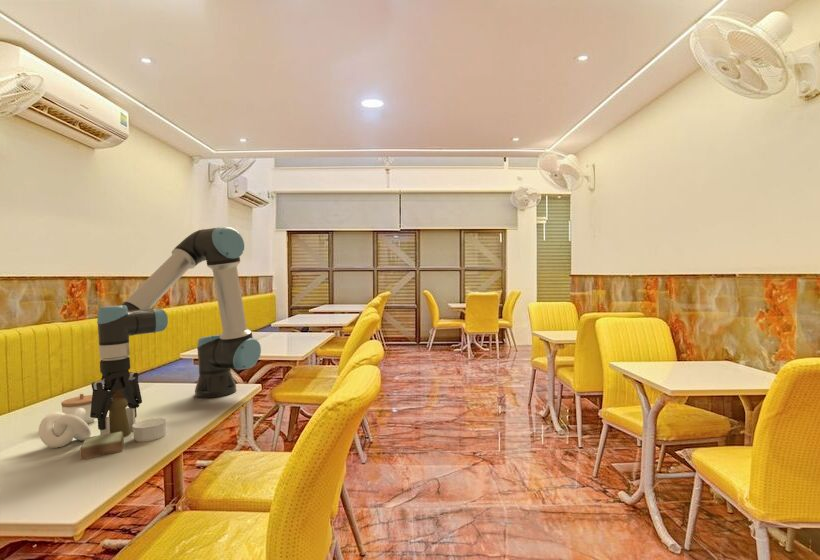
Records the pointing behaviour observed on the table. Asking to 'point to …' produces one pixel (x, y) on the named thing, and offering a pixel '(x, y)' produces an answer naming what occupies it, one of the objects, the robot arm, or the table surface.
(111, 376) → the robot arm
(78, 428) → the white decorative knot
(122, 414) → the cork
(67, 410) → the lidded jar
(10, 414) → the table surface
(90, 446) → the stand
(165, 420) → the ramekin
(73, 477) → the table surface
